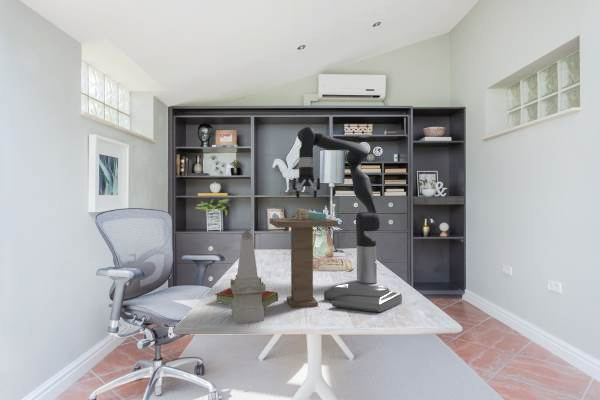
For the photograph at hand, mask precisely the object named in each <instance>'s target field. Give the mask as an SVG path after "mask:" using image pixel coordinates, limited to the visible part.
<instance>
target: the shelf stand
mask: <svg viewBox="0 0 600 400" xmlns="http://www.w3.org/2000/svg"><path fill="white" fill-rule="evenodd" d="M307 211H308V209H307V208H306V209H305V208H295V215H294V216H295V217H278V218H277V217H274V218H271V217H270V218H269V224H270V225H272V226H273V227H274V228H278V229H279V228H281V229H283V228H290V272H291V273H290V275H291V277H290V285H291V287H290V288H291V289H290V294H291V295H290V296H289V295H287V296H286V301H287V303H288V305H289V307H290V308H291V309H297V308H312V307H313V308H314V307H318V306H319V302H318V301H317V299H316V298H315V297H314V271H313V259H314V250H313V249H314V246H313V245H314V243H313V242H314V239H313V237H314V234H313V233H314V232H313V231H314V228H323V227H324V228H325V227H326V228H329V227H332V228H333V227H339V220H336V219H331V218H327V217H326V220H323V221H318V220H314V219H310V218H308V215H307Z"/></svg>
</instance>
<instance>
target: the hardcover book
mask: <svg viewBox="0 0 600 400" xmlns="http://www.w3.org/2000/svg"><path fill="white" fill-rule="evenodd" d="M214 295H215V296H216V303H217V302H221V303H220V304H222V303H226V304H225V305H229V304H232V301H233V300H234V294H233V293H232V290H231V287H229V288H226V289H224V290H220V291H219V292H217V293H215V294H214ZM278 301H279V293H278V291H273V290H272V291H270V290H265V292H263V293H262V305H263V307H264V309H266V308H267V307H268V306H270V305H272V304H274V303H276V302H278Z"/></svg>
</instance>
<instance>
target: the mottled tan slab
mask: <svg viewBox="0 0 600 400" xmlns="http://www.w3.org/2000/svg"><path fill="white" fill-rule="evenodd" d="M352 261H353V260H350V259H345V258H339V257H320V258H313V272H344V271H345V272H346V273H347V272H350V271H352V270H354V268H355V267H354V263H353V262H352Z"/></svg>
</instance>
